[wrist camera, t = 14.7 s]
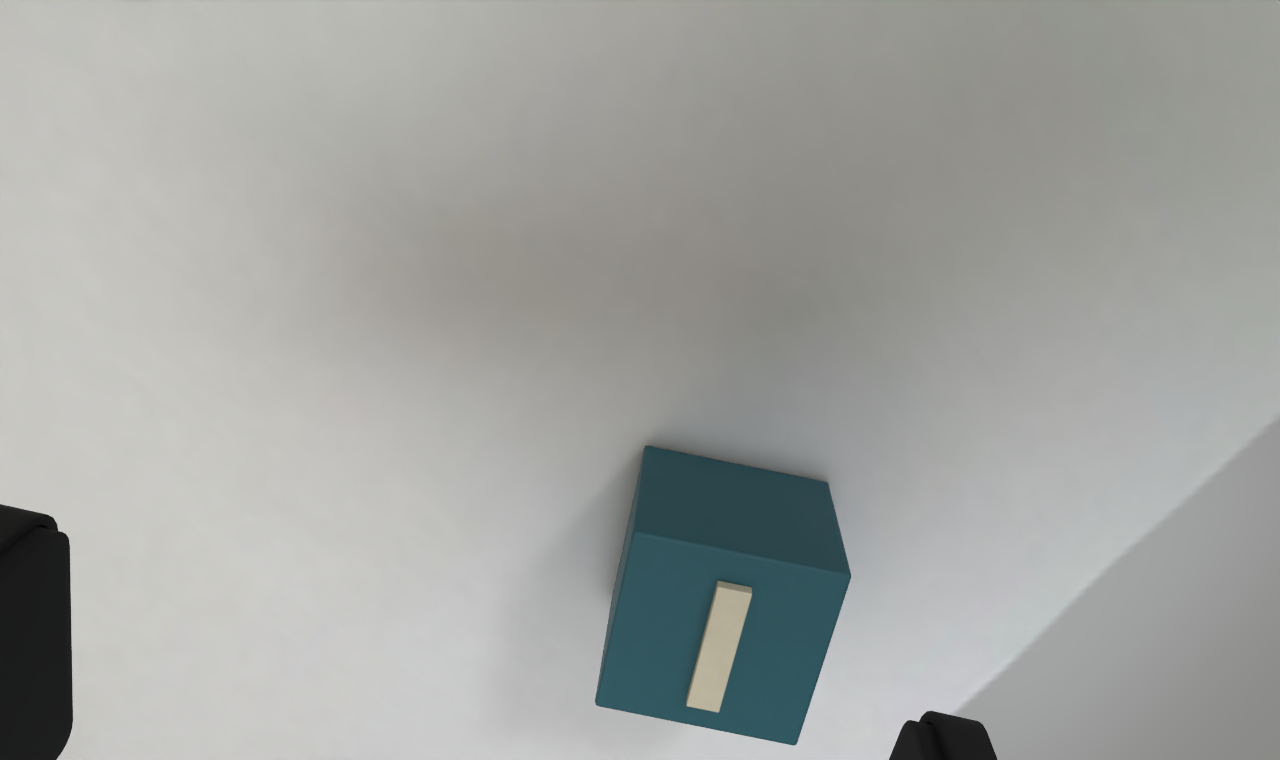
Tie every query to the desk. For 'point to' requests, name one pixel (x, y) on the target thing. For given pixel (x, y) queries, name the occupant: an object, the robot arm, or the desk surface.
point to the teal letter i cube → (723, 597)
